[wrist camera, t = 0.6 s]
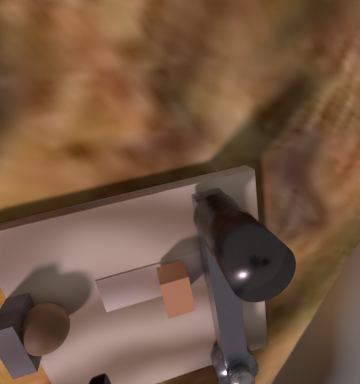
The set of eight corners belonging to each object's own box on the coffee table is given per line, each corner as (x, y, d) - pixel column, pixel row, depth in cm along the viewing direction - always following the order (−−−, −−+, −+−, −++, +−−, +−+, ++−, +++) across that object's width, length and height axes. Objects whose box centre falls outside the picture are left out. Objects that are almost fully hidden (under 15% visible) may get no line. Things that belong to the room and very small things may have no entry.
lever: (249, 359, 25) (303, 470, 17) (213, 372, 24) (253, 491, 17) (228, 178, 18) (301, 232, 11) (178, 190, 18) (219, 255, 10)
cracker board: (260, 332, 27) (287, 378, 22) (70, 395, 24) (59, 460, 20) (245, 164, 20) (279, 182, 16) (-16, 226, 18) (-60, 267, 13)
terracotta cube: (188, 291, 21) (195, 310, 19) (164, 299, 20) (168, 318, 19) (182, 260, 20) (188, 277, 18) (156, 267, 19) (159, 285, 18)
